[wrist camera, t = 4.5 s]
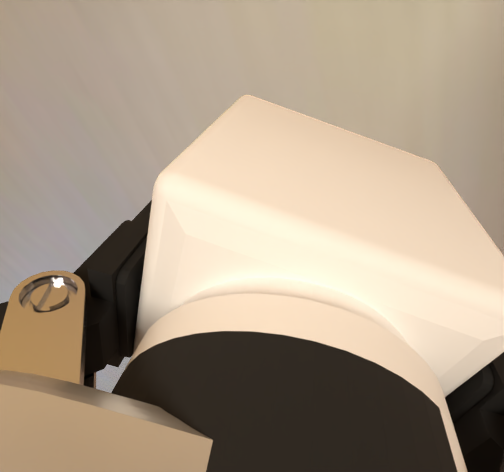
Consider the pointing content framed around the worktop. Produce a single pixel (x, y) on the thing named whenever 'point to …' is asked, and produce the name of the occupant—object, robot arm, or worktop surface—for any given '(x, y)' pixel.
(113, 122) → the worktop surface
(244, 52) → the worktop surface
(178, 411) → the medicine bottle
